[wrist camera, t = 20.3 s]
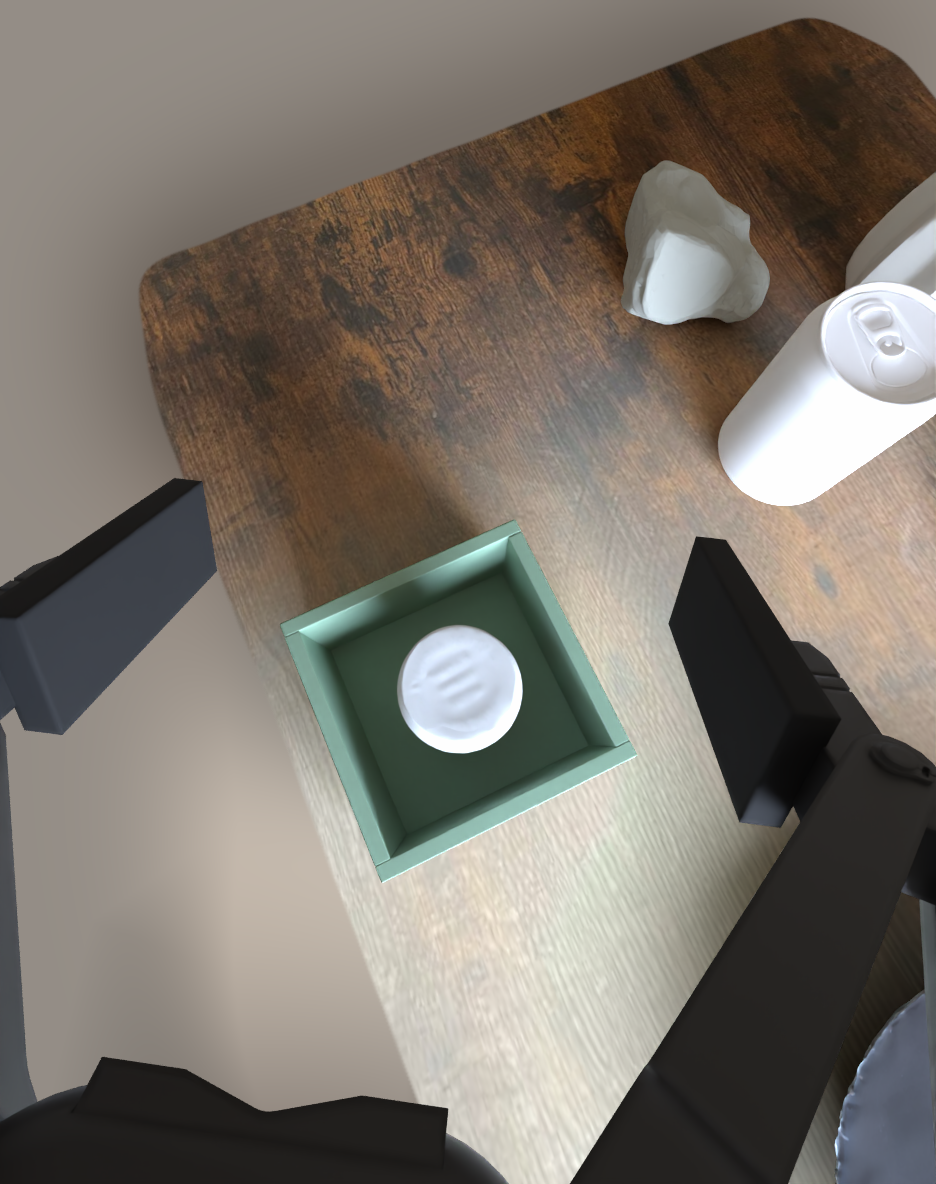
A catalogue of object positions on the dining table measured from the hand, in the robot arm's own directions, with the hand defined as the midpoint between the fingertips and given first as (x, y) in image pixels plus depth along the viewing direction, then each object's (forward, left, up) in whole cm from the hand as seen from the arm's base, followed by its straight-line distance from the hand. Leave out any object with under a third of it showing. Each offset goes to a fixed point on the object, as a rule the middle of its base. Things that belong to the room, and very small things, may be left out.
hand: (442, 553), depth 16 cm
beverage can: (+15, +21, -22) cm, 34 cm away
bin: (+1, -2, -22) cm, 22 cm away
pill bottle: (+1, -2, -22) cm, 22 cm away
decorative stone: (+5, +32, -22) cm, 39 cm away
